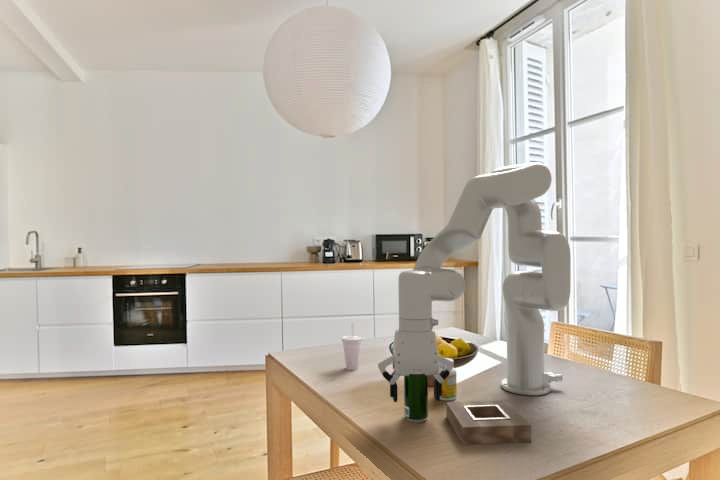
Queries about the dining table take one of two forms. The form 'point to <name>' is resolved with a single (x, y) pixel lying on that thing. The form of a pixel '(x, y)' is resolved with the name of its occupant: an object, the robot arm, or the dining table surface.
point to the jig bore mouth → (486, 418)
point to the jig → (487, 423)
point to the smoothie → (352, 350)
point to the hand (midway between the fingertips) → (415, 399)
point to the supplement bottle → (448, 383)
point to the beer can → (416, 396)
